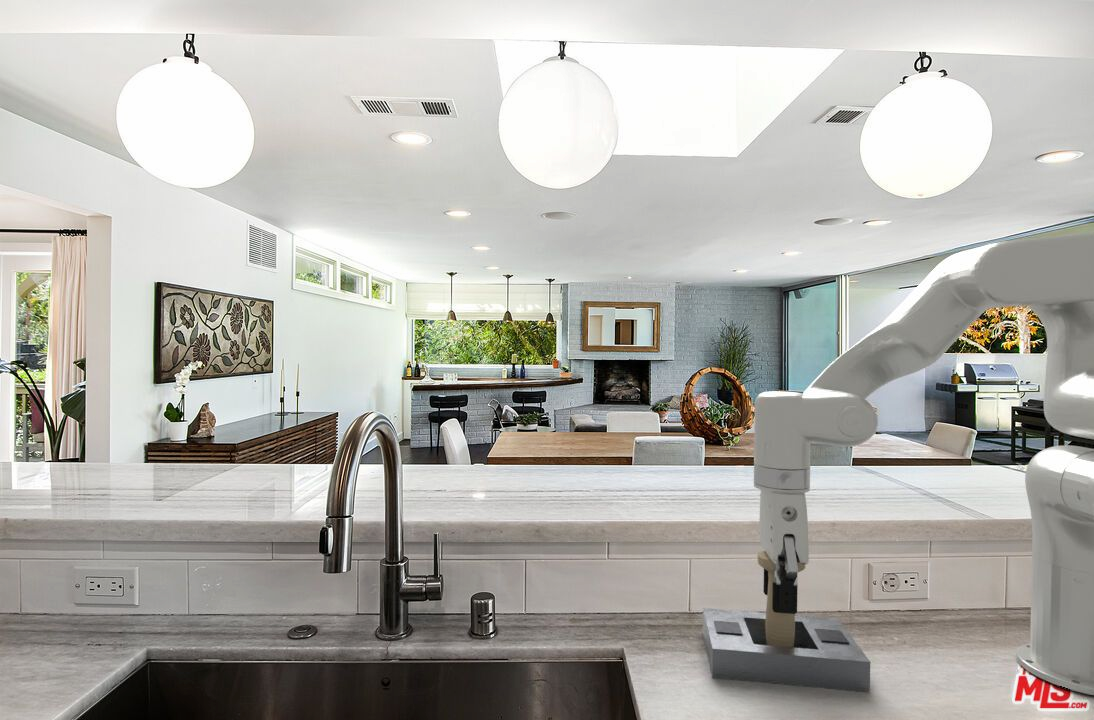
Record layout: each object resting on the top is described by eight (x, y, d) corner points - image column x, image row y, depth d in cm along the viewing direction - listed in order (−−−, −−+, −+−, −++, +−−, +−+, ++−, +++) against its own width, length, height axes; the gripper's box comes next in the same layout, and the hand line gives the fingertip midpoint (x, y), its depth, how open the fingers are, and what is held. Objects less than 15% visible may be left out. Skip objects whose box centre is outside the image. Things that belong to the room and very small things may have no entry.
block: (837, 644, 91) (838, 616, 91) (869, 692, 78) (870, 660, 78) (702, 633, 94) (702, 606, 94) (712, 677, 81) (712, 646, 81)
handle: (807, 671, 83) (809, 563, 83) (759, 666, 84) (761, 560, 84) (798, 653, 88) (800, 552, 88) (753, 650, 89) (754, 549, 89)
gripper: (827, 492, 77) (825, 633, 77) (793, 467, 93) (792, 582, 94) (766, 490, 78) (764, 628, 78) (744, 465, 95) (742, 579, 95)
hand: (779, 602), depth 86 cm, fingers open, 5 cm apart
